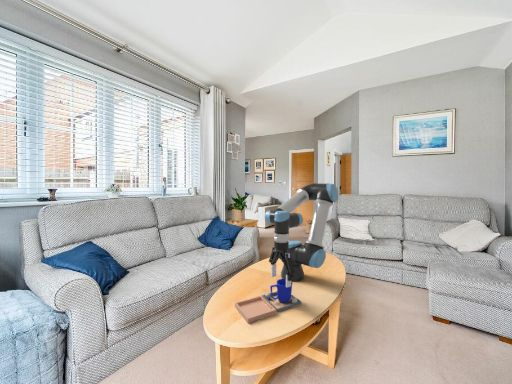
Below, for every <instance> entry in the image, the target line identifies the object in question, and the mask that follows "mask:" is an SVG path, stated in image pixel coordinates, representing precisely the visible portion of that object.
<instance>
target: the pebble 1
mask: <svg viewBox="0 0 512 384" xmlns="http://www.w3.org/2000/svg"><path fill="white" fill-rule="evenodd" d="M270 293H271V292H267V293H265V294H266V295H265V294H264V295H265V297H266V299H268V300H270V299H271V298H272V296H271V295H270Z"/></svg>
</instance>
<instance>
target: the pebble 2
mask: <svg viewBox="0 0 512 384" xmlns="http://www.w3.org/2000/svg"><path fill="white" fill-rule="evenodd" d="M296 298H297V297H296ZM296 298H291V304H293V303H296V302H298V300H297V299H298V298H297V299H296Z"/></svg>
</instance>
